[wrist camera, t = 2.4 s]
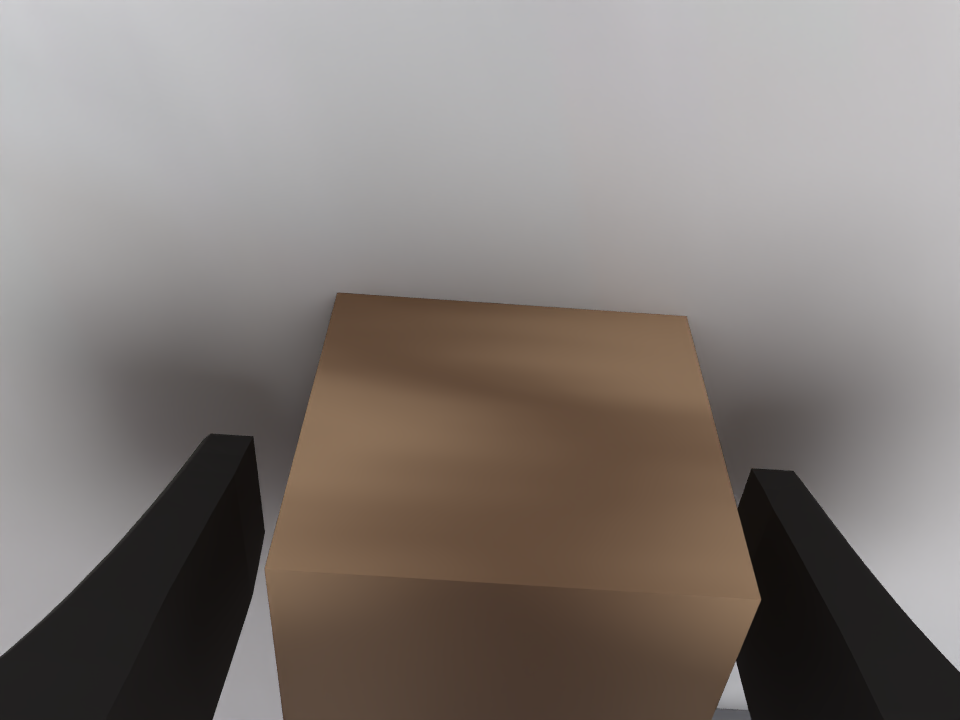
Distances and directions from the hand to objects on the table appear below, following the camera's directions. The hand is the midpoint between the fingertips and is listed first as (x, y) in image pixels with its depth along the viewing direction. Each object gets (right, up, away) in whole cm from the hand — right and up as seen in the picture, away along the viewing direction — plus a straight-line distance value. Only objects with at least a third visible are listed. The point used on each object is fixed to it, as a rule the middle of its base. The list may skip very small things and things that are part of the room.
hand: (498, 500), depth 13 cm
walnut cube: (0, +1, +1) cm, 2 cm away
